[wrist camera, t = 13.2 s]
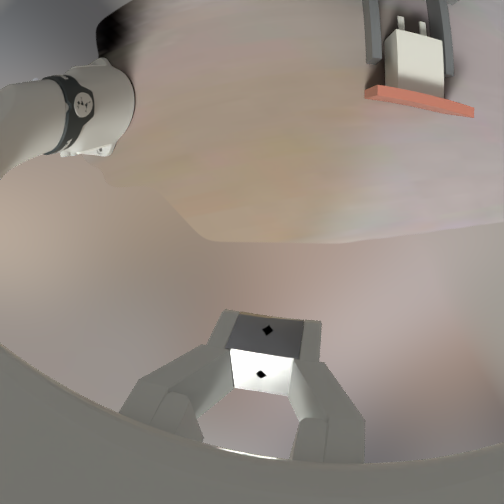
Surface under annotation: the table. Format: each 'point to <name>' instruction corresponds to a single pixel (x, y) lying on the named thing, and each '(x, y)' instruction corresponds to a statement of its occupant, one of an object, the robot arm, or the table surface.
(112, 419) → the robot arm
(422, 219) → the table surface
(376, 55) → the socket housing
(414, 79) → the plug
